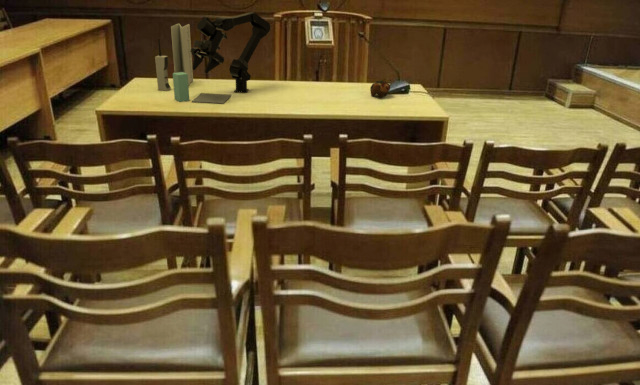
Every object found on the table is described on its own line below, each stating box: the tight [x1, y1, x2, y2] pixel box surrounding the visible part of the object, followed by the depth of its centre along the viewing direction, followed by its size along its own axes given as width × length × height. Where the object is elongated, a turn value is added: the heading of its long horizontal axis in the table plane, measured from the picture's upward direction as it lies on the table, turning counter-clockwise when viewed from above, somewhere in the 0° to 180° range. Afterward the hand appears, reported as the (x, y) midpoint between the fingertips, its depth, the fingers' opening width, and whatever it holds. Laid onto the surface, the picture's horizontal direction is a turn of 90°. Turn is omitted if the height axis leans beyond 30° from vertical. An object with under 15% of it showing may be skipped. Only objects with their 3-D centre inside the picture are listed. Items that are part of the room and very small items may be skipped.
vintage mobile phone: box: [154, 38, 172, 92], centre depth 247 cm, size 4×5×25 cm
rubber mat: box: [191, 92, 232, 105], centre depth 240 cm, size 16×15×1 cm
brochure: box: [170, 23, 194, 87], centre depth 259 cm, size 14×6×30 cm, turn 179°
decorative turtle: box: [369, 80, 391, 99], centre depth 257 cm, size 10×15×8 cm, turn 155°
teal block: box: [172, 72, 190, 103], centre depth 233 cm, size 5×5×12 cm
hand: (199, 71), depth 233 cm, fingers open, 9 cm apart
